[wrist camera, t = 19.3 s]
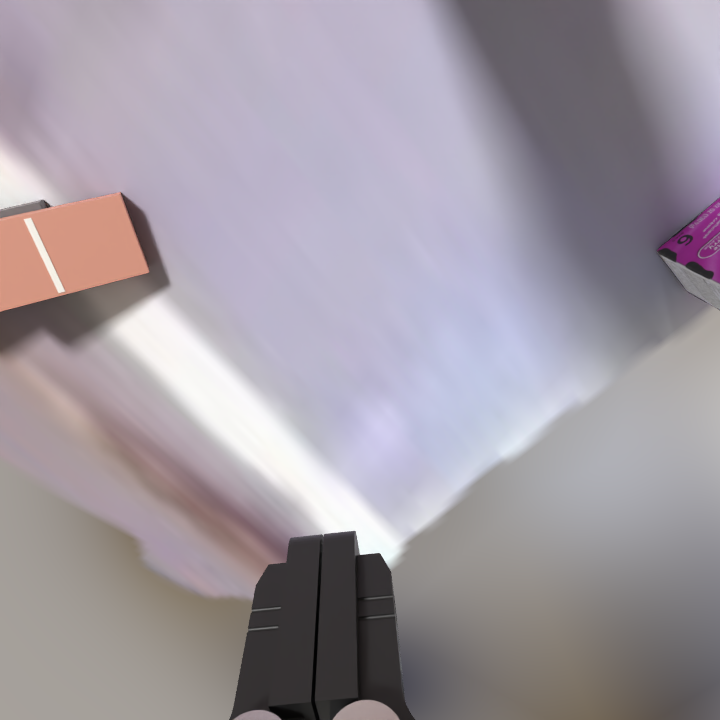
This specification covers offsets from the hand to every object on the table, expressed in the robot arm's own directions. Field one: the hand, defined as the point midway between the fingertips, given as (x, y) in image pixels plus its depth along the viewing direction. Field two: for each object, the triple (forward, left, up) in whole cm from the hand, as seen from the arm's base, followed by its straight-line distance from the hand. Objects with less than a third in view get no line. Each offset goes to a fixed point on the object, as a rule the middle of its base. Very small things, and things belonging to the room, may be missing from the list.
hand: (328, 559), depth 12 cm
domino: (-3, -14, -26) cm, 30 cm away
